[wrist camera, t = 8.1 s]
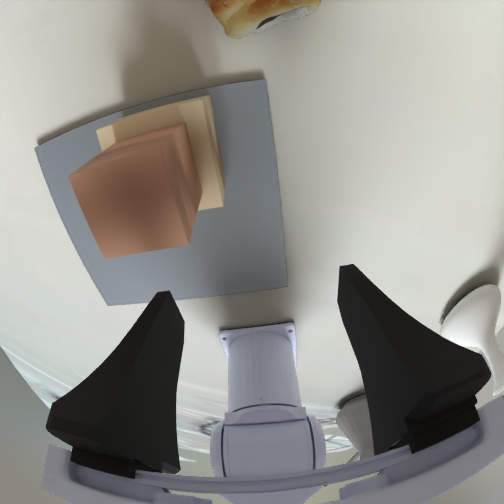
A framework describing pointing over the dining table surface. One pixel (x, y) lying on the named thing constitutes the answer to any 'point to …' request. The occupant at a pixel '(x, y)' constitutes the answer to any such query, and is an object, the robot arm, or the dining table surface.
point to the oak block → (200, 136)
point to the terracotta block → (141, 193)
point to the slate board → (207, 221)
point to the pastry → (257, 14)
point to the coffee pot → (357, 426)
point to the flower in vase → (478, 327)
